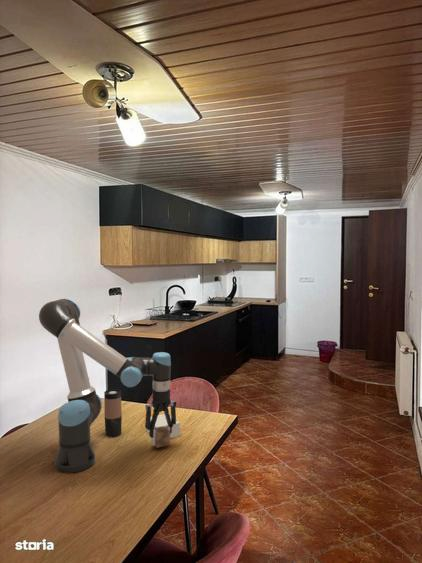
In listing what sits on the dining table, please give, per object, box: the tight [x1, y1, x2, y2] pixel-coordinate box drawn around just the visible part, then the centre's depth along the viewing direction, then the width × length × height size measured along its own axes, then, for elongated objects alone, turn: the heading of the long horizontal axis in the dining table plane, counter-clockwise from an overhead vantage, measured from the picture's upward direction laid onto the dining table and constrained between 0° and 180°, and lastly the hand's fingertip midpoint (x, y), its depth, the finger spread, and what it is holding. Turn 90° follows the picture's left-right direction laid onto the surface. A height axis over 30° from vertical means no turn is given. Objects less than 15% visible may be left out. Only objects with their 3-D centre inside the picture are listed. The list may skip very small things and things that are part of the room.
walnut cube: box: [154, 426, 171, 449], centre depth 172 cm, size 6×6×6 cm
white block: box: [145, 413, 181, 439], centre depth 186 cm, size 11×14×6 cm
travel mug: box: [103, 388, 123, 438], centre depth 185 cm, size 8×8×20 cm
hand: (160, 442), depth 172 cm, fingers closed on walnut cube, 6 cm apart
